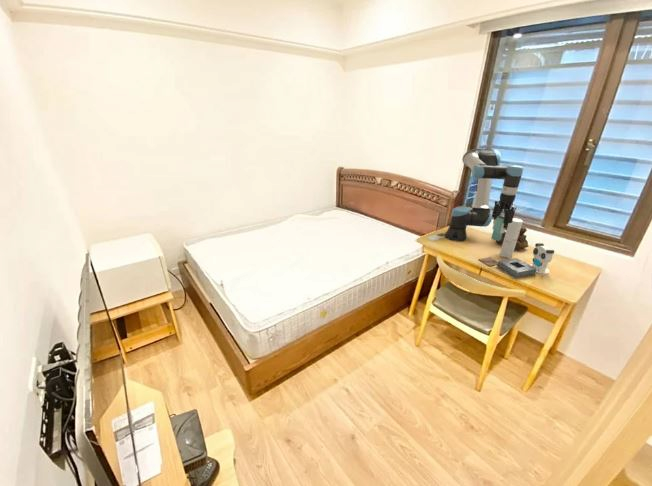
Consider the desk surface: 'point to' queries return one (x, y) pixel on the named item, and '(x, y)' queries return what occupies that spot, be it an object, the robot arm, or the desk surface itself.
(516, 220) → the cylindrical container
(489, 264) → the pad
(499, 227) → the teal cylinder
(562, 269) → the desk surface
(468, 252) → the desk surface
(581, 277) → the desk surface
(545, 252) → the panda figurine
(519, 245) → the brown lumpy upright piece
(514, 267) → the housing
